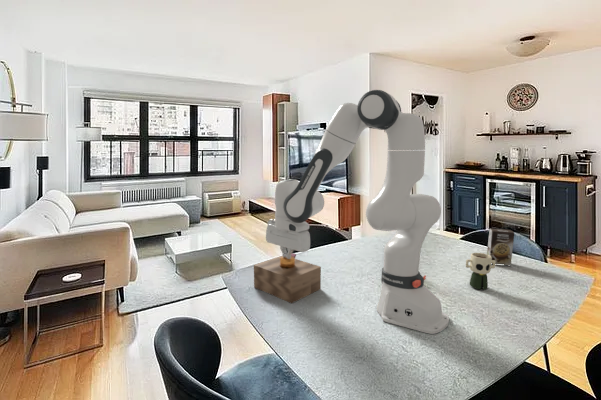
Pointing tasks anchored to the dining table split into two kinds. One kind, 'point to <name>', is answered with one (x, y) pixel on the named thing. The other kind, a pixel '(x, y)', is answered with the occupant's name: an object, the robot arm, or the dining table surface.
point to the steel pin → (287, 262)
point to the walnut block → (287, 279)
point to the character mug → (480, 269)
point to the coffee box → (500, 245)
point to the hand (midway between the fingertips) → (286, 258)
